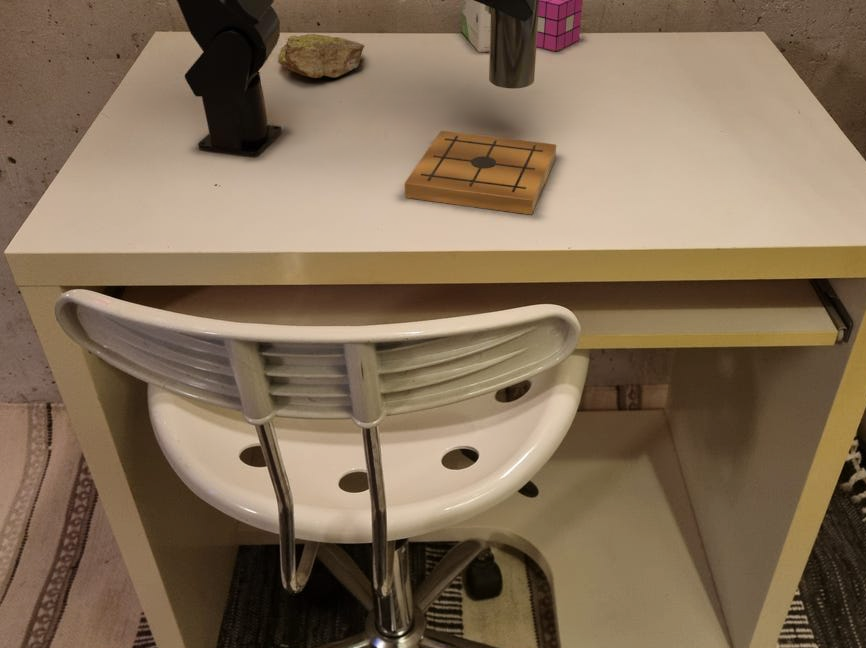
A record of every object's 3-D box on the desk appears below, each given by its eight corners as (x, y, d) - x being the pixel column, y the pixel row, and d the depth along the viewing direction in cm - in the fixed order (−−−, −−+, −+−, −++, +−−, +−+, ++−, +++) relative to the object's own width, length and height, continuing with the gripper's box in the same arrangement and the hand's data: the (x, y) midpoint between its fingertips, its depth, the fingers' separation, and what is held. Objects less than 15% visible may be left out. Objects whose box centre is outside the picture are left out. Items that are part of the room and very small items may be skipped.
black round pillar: (502, 91, 80) (508, -48, 72) (481, 76, 83) (483, -60, 75) (542, 84, 81) (552, -53, 73) (520, 69, 84) (526, -65, 76)
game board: (531, 215, 76) (532, 199, 75) (405, 197, 78) (404, 182, 77) (555, 158, 85) (556, 143, 84) (441, 144, 87) (440, 129, 86)
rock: (353, 89, 98) (356, 56, 96) (266, 75, 97) (267, 41, 95) (366, 63, 109) (369, 33, 107) (288, 50, 108) (289, 20, 106)
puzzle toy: (543, 31, 114) (546, -14, 110) (579, 40, 112) (583, -6, 108) (519, 42, 111) (521, -4, 107) (555, 52, 108) (559, 5, 104)
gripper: (469, -201, 60) (606, -27, 67) (478, -228, 74) (591, -82, 81) (365, -80, 65) (503, 69, 72) (392, -126, 79) (505, 2, 86)
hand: (529, 9), depth 77 cm, fingers closed on black round pillar, 4 cm apart
